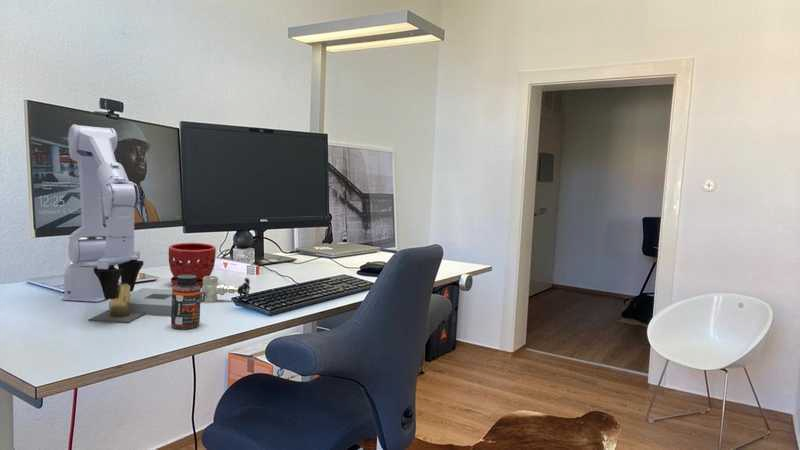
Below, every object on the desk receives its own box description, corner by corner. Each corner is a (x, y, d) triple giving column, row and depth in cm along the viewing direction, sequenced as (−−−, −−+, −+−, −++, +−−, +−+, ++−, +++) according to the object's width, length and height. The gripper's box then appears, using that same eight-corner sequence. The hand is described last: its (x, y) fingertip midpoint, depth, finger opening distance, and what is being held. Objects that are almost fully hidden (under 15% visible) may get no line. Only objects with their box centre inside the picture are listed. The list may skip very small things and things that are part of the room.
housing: (109, 312, 125) (109, 302, 125) (142, 297, 141) (142, 288, 141) (176, 316, 125) (176, 306, 125) (202, 300, 141) (202, 291, 141)
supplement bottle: (182, 331, 114) (183, 279, 113) (165, 326, 117) (166, 275, 116) (205, 325, 119) (206, 276, 118) (188, 320, 122) (189, 272, 121)
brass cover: (107, 316, 120) (107, 285, 119) (115, 312, 124) (115, 281, 123) (125, 317, 120) (125, 286, 120) (132, 313, 124) (133, 282, 124)
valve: (198, 304, 138) (246, 305, 140) (199, 279, 137) (246, 280, 139) (204, 298, 144) (249, 299, 146) (204, 274, 144) (250, 275, 146)
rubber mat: (88, 320, 118) (88, 319, 118) (110, 310, 127) (110, 309, 127) (128, 323, 118) (128, 321, 118) (147, 312, 127) (148, 311, 127)
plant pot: (158, 284, 157) (159, 244, 156) (196, 279, 168) (197, 241, 167) (186, 292, 150) (187, 250, 149) (224, 285, 161) (225, 246, 160)
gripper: (120, 241, 113) (119, 303, 114) (152, 233, 128) (151, 289, 129) (87, 239, 113) (87, 301, 114) (123, 232, 128) (122, 287, 129)
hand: (119, 294), depth 122 cm, fingers open, 7 cm apart
